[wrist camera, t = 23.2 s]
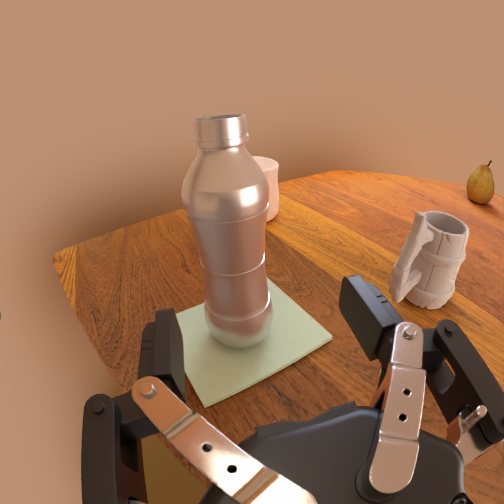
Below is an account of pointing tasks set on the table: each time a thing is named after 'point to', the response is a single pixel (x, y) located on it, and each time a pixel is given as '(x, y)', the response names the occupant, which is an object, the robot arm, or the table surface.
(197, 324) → the mat
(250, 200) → the metal bottle
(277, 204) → the cup
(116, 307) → the table surface
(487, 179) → the fruit
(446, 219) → the mug
